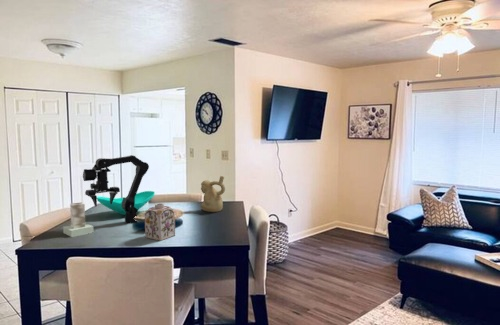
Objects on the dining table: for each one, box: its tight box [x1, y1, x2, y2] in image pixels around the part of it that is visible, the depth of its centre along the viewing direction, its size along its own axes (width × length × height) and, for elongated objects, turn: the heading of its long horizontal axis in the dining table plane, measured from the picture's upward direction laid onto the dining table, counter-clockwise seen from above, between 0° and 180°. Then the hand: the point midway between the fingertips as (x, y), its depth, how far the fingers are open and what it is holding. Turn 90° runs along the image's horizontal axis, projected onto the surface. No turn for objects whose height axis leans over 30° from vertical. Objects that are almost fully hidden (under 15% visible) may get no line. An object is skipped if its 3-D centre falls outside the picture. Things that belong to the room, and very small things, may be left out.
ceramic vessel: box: [200, 175, 226, 213], centre depth 262 cm, size 17×20×25 cm
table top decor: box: [97, 190, 156, 215], centre depth 256 cm, size 40×28×13 cm
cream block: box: [69, 202, 86, 228], centre depth 208 cm, size 6×6×13 cm
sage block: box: [62, 222, 95, 238], centre depth 208 cm, size 12×12×4 cm
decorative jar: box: [144, 202, 176, 242], centre depth 199 cm, size 12×12×18 cm
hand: (103, 205), depth 220 cm, fingers open, 9 cm apart
